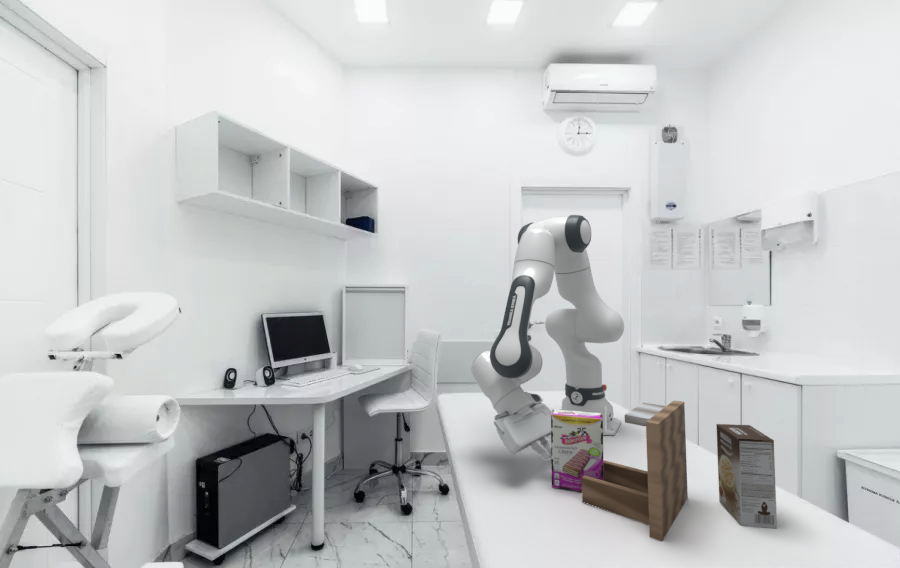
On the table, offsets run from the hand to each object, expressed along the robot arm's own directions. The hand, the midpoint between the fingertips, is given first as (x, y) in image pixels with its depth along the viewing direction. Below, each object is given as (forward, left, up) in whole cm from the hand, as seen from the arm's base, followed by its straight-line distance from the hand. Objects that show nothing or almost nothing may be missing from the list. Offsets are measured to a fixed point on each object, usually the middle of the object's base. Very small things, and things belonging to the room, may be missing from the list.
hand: (551, 457), depth 94 cm
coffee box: (-10, +36, -5) cm, 38 cm away
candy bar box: (0, +7, -5) cm, 8 cm away
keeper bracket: (0, +17, -5) cm, 18 cm away
